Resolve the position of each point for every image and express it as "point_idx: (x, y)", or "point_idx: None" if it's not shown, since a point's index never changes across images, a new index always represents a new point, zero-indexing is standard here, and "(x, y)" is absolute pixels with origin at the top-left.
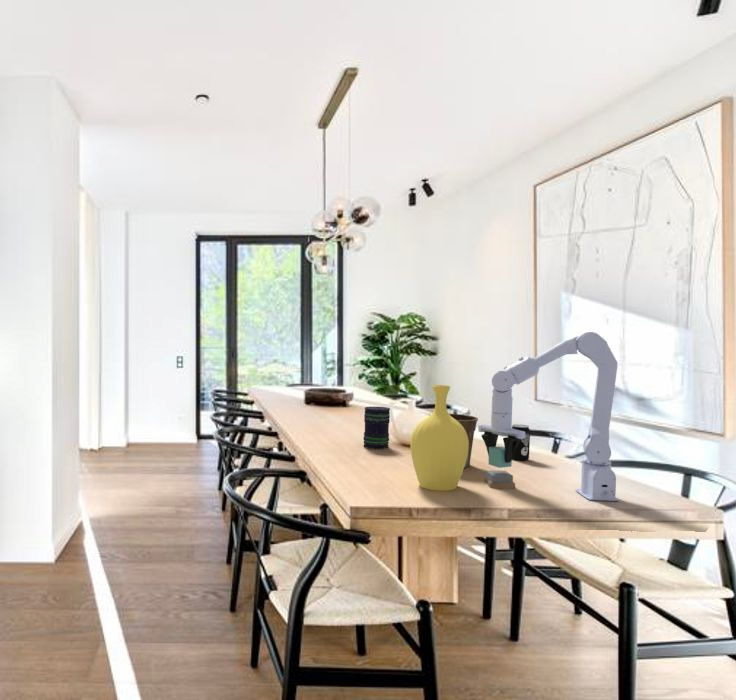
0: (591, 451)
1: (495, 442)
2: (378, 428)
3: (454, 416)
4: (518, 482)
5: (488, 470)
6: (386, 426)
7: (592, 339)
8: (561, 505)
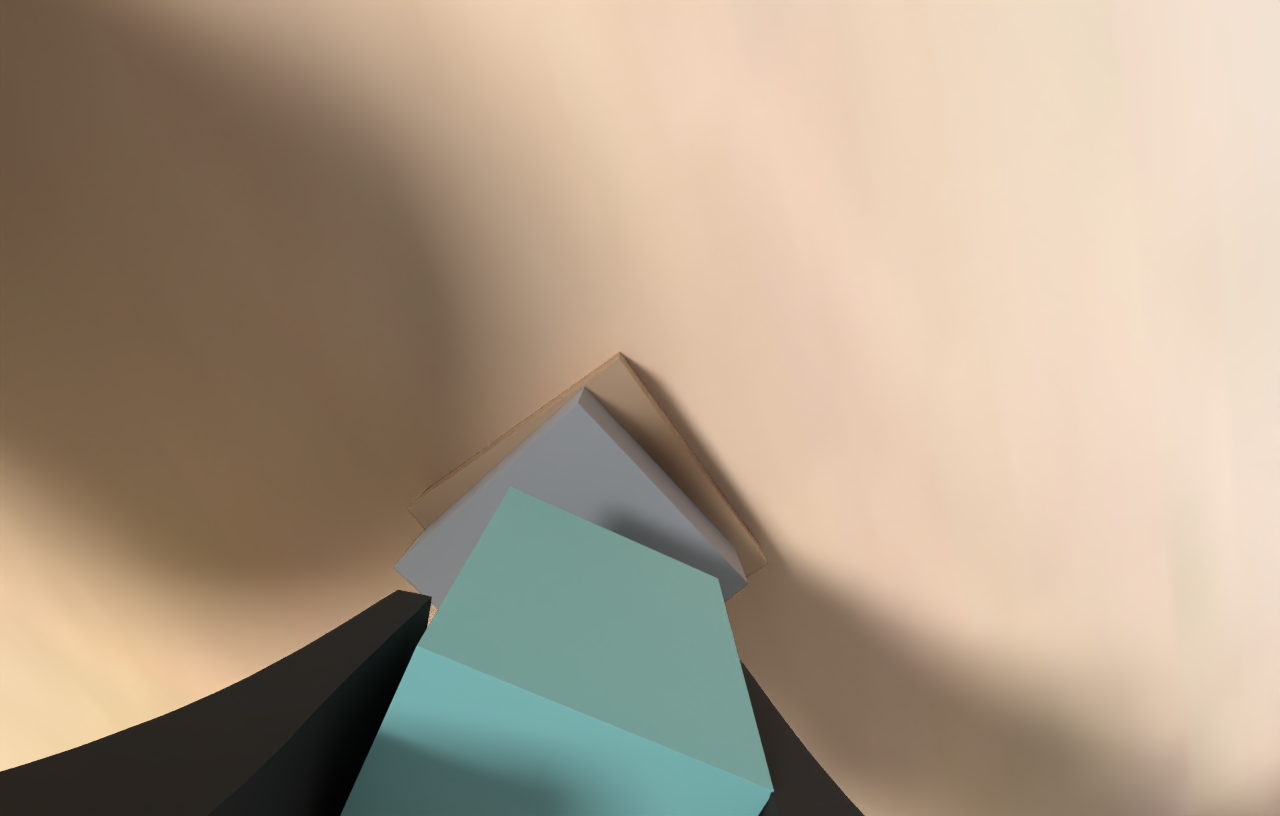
0: None
1: (260, 813)
2: None
3: None
4: (707, 293)
5: (424, 550)
6: None
7: None
8: (1201, 762)
